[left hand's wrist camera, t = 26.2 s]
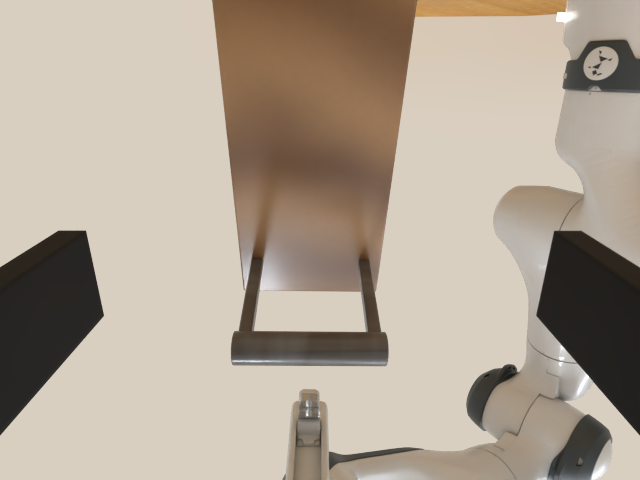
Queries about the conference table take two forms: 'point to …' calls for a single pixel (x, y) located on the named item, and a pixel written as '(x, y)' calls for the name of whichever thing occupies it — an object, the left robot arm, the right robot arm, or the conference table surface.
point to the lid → (312, 159)
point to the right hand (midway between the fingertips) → (307, 436)
